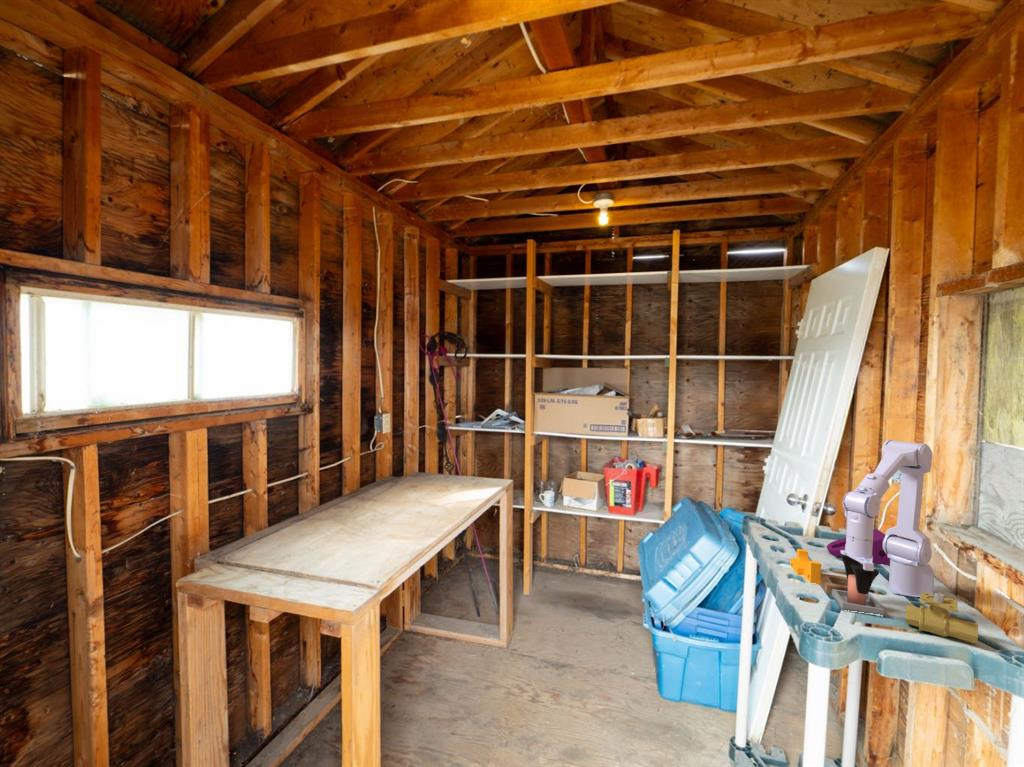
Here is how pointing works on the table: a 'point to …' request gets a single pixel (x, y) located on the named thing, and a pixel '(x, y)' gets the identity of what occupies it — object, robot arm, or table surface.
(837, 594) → the tray
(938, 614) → the ball valve
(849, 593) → the plug
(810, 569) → the pipe clamp
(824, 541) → the table surface
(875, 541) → the mounting bracket
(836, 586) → the square frame
